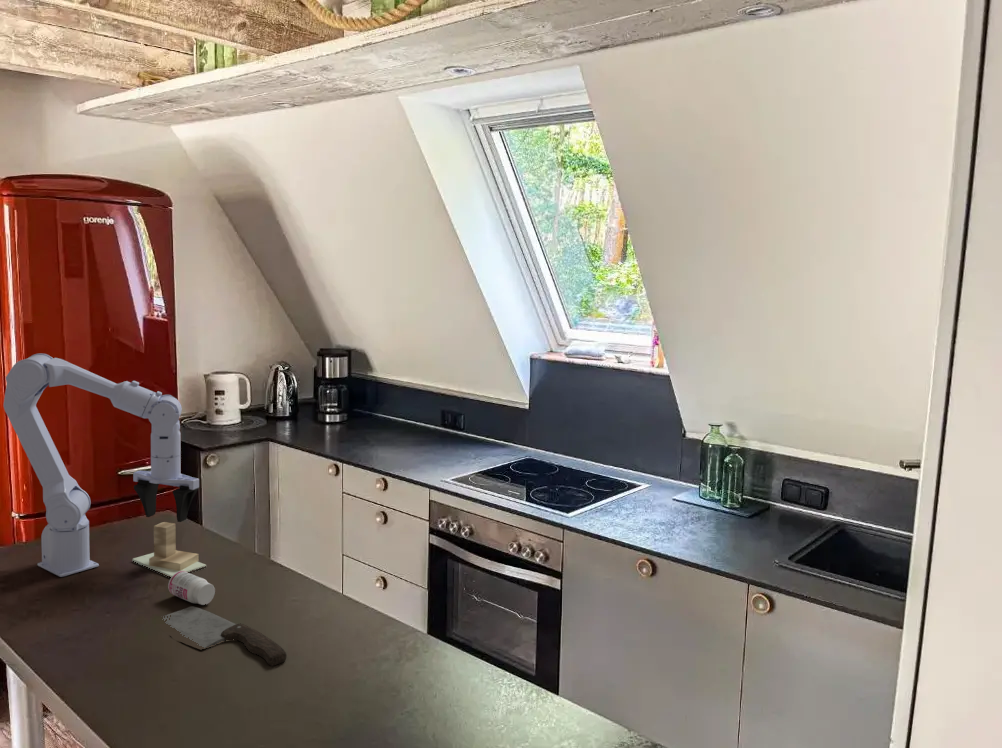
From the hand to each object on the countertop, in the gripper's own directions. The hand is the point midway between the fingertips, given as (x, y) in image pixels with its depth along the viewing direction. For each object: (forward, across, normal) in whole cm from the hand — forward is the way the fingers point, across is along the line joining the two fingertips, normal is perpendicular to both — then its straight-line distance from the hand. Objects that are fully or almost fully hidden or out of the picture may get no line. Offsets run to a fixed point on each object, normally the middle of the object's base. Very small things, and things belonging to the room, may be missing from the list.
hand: (166, 518), depth 171 cm
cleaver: (+11, +30, -25) cm, 40 cm away
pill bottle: (+8, +12, -12) cm, 19 cm away
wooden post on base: (+9, +2, -1) cm, 10 cm away
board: (+10, +1, 0) cm, 10 cm away
